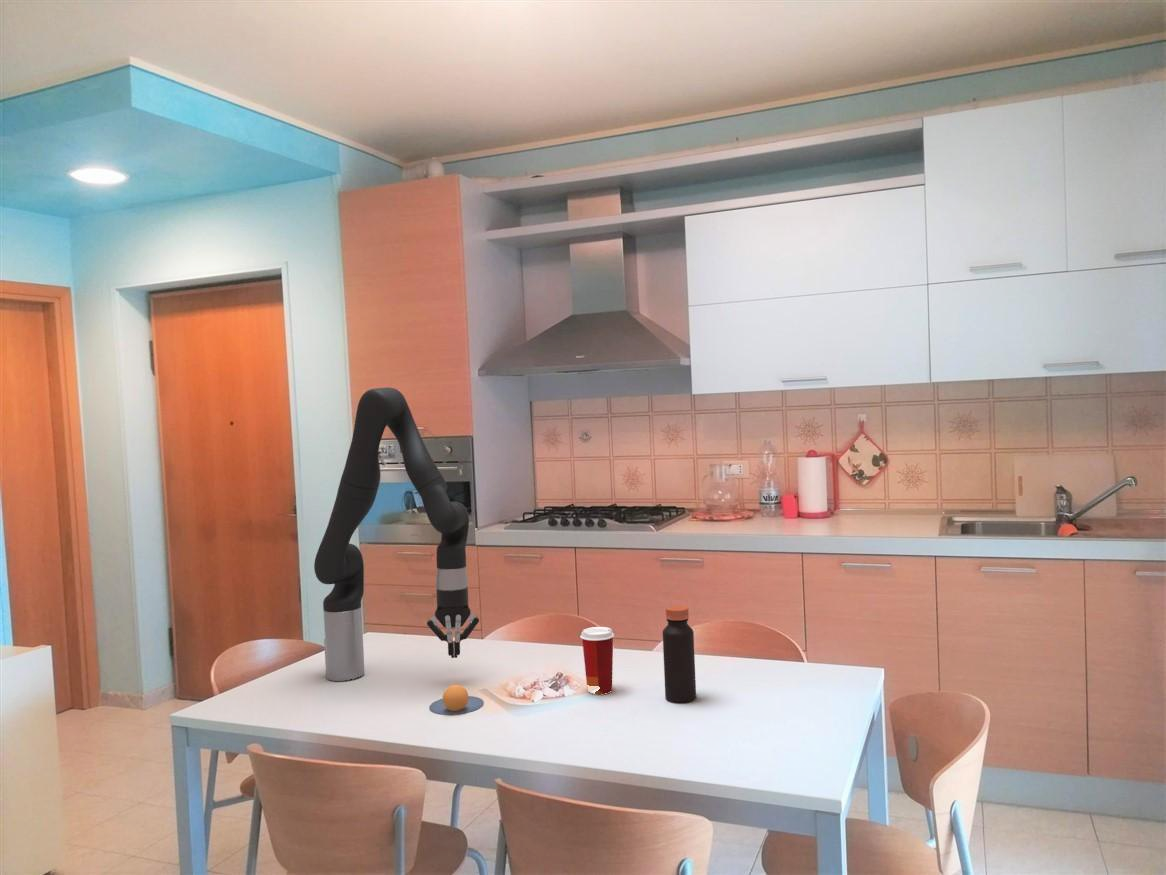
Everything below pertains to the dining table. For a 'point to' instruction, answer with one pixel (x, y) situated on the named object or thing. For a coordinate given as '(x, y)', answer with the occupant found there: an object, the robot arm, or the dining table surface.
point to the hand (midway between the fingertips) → (454, 656)
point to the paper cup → (598, 657)
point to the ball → (455, 698)
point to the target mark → (471, 706)
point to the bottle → (679, 656)
